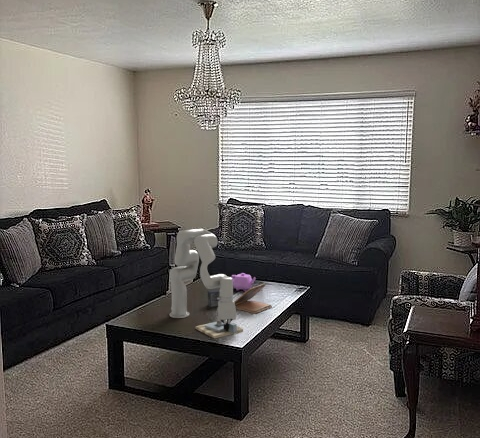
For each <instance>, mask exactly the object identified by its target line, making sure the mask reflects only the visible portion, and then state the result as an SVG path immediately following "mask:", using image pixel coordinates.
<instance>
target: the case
mask: <svg viewBox="0 0 480 438" xmlns="http://www.w3.org/2000/svg"><path fill="white" fill-rule="evenodd" d="M265 286H266V283H262V284H259V285H256V286H252V287H251V288H250V289H247V291H244V292H243V293H242V294H241V295H240V296H239V297H238V298H237V299H236V300H234V301H235V308H236V310H238V311H243V312H247V313H252V314H258V313H261V312H264V311H266V310H269V309H271V308H273V305H271V304H268V303H264V302H261V301H255V300H251V299H252V298H254V296H257V294H258V293H260V291H261V290H262V289H264V288H265Z"/></svg>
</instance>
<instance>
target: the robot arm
mask: <svg viewBox="0 0 480 438" xmlns="http://www.w3.org/2000/svg"><path fill="white" fill-rule="evenodd" d="M218 241H219V240H218V238H217V236H216V235H215V234H214V233H212V232H211V231H208V230H207V229H204V228H195V229H186V230H185V229H184V230H180V231H178V233H177V235H176V248H175V254H174V264H175V265H176V266H175V267H172V268H171V269H170V271H169V279H170V285H171V288H170V289H171V307H170V310H171V312H170V313H169V317H171V318H173V319H184V318H187V317H190V312H189V311H188V302H187V301H188V297H187V295H188V292H187V291H188V290H187V289H188V288H187V286H186V284H185V283H184V282H185V281H191V280H194V279H195V278H196V277H197V273H198V267H199V262H200V260H201V264H200V268H199V274H200V275H199V276H200V279H201V281H202V283H203V286H204V287H205V288H206V289H207V290H215V289H219V290H220V296H219V297H218V298H217V300H220V301H219V302H218V307H216V308H217V310H216V312H217V313H216V316H217V317H216V321H220V322H223V323H224V330H225V331H229V324H230V322H231V323H232V321H235V320H236V319H237V309H236V308H235V301H236V300H235V299H234V286H233V279H232V278H231V276H227V275H226V274H224V273H218V274H212V275H210V273H209V272H208V265H210V264H211V263H212V262H213V261H215V259H216V254H215V252H214V250H213V248H215V247H217V246H218ZM191 244H194V246H195V248H196V250H194V249H191ZM226 321H227V323H226Z"/></svg>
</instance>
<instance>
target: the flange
mask: <svg viewBox="0 0 480 438" xmlns="http://www.w3.org/2000/svg"><path fill="white" fill-rule="evenodd" d="M209 323H210V324H208V323H206V324H207V325H205V327H206V328H209V329H211V330H214V331H217V332H221V331H224V323H223V322H222V326H221V327H217V320H216V321H214V322H209ZM226 323H227V322H226ZM234 323H235V322H232V321H231V322H230V324H229V331H230V332H233V333H235V332H237V326H238V325H237V323H235V324H234ZM235 334H236V333H235Z"/></svg>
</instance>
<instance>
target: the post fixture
mask: <svg viewBox="0 0 480 438" xmlns="http://www.w3.org/2000/svg"><path fill="white" fill-rule="evenodd" d="M216 321H217V320H216ZM226 322H227V320H226ZM210 323H211V322H209V323H206V324H200V325H197V326H195V329H196V330H197V331H199V332H201V333H203V334H205V335H207V336H209V337H211V338H212V339H218V338H223V337H226V336H230V335H234V334H238V333H242V332H244V328H242V327H239V326H238V325H237V332H235V333H233V332H230V331H225V330H224V331H221V332H217V331H214V330H211V329H209V328H206V327H205V325H207V324H210ZM233 323H234V324H236V323H235V322H233ZM221 326H222V322H220V321H217V327H221Z"/></svg>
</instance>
